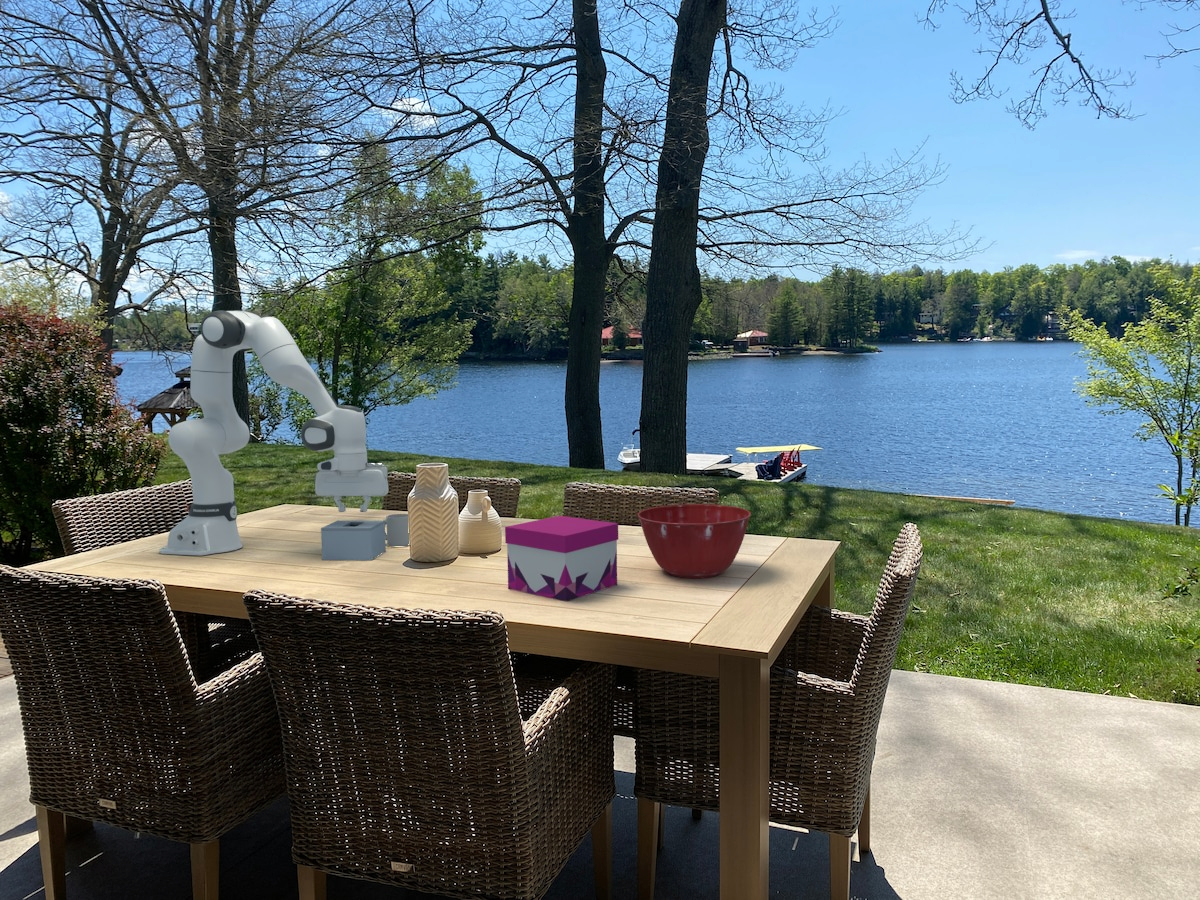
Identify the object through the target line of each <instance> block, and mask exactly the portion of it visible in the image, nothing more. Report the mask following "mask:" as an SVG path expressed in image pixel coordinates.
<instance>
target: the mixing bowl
mask: <svg viewBox="0 0 1200 900" xmlns="http://www.w3.org/2000/svg"><path fill="white" fill-rule="evenodd" d="M751 514H752V513H751V512H750V511H749V510H748V509H745V508H741V507H739V506H731V505H725V504H705V503H702V504H701V503H700V504H698V503H696V504H695V503H694V504H688V503H687V504H672V505H662V506H656V507H650V508H646V509H644V510H643V509H642V510H641V511H639V512H638V513H637V517H638V518H639V521H640V526H641V528H642V533H643V535H644V539H645V542H646V544H647V546H648V548H649V550H650V553H651V554H652V556H653V559H654V560H655V563H656V564H657V565H658V566H659V567H660V568H661V569H662V570H664V571H665V572H667V573H668V574H669V575H671V576H674V577H678V578H683V579H706V578H713V577H716V576H719V575H721V574H722V573H723V572H724V571H726V570H728V568H729V567H731V565H732V564H733V562H734V560H735V559H736V558H737V555H738V553H739V550H740V549H741V545H742V544H743V541H744V538H745V536H746V531H747V527H748V524H749V519H750V518H751V516H752V515H751Z"/></svg>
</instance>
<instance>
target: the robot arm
mask: <svg viewBox="0 0 1200 900" xmlns="http://www.w3.org/2000/svg"><path fill="white" fill-rule="evenodd" d="M193 343H194V344H193V348H192V352H191V357H190V359H191V360H190V361H191V362H190V385H189V386H190V391H189V393H190V394H189V395H190V397H191V398H192V400H193V401H194V402H195V403H197V404H198V405H199V406H200V408H201V411H202V413H203V418H193V419H192V418H191V419H188V420H184V421H182V422H178V423H175V424H174V425H172V427H171V428H170V430H169V433H168V435H167V436H168V438H167V440H168V446H169V448H170V449H171V450H172V452H173V453H174V454H176V455H177V456H178V457H179V458H180V459H181V460H182V461H183V462H184V464H185V466H186V468H187V470H188V472H189V475H190V479H191V488H192V489H191V490H192V499H193V501H192V503H191V504H189V505H188V506H185V507H184V508H185V509H184V511H185V512H186V511H188V514H187V516H186V517H185V518H183V519H182V520H181V521H179V523H177V525H175V526H174V527H173V528H171V530H169V532H168V537H167V545H166V546H163V547H161V548H159V554H162V555H178V556H181V555H183V556H184V555H185V556H201V557H202V556H206V555H211V554H212V555H213V554H220V553H227V552H233V551H236V550H239V549H241V548H243V542H242V540H241V537H240V534H239V530H238V524H237V517H238V514H237V513H238V512H237V511H238V509H237V501H236V500H235V487H234V476H233V474H232V473H231V471H229V470H228V469H226V468H225V467H224V466H223V464H222V462H221V459H220V456H219V455H226V454H231V453H235V452H238V451H239V450H241V449H243V448H245V447H246V446H247V445H248V443H249V441H250V436H251V435H250V429H249V427H248V424H247V423H246V422H245V421H244V420H243V419H242V418H241V417H240V416H239V414H238V412H237V409H236V407H235V402H234V397H233V396H234V395H233V359H234V356H235V354H236V353H237V352H239V351H240V352H241V353H242V352H245V353H246V352H248V351H253V352H254V353H255V355H256V357H257V358H258V360H259V363H260V364H261V366H262V368H263V370H264V371H265V373H266V374H267V376H269V378H270V379H271V380H272V381H273V382H274V383H276V384H279V385H281V386H283V387H287V388H290V389H291V390H295V391H297V392H298V393H300V394H301V395H302V396H304V397H305V398H306V399H307V400H308V402H309V403H310V405H311V407H312V408H313V410H314V411H315V413H316V414H317V416H315V417H313V418H310V419H308V420H306V421H305V422H303V425H302V427H301V428H300V440H301V441H302V444H303V446H305V447H306V449H308V450H310V451H313V452H325V451H333V455H334V456H333V457H330V458H328V459H326V460H324V461H321V462H318V463H317V470H318V472H317V473H316V475H315V483H314V484H315V485H314V490H315V491H314V492H315V494H316V495H317V496H318V497H333V500H334V502H335V504H336V506H337V508H338V512H339V513H345V512H346V510H347V509H346V508H347V506H346V504H343V503H342V501H341V499H343V498H342V497H363V498H362V499H363V501H364V502H363V504H362V505H360V506H359V512H360V513H367V511H368V505H369V503H370V501H371V499H372V498H371V497H384V496H386V495H387V494H388V493H389V482H388V473H389V472H388V471H389V470H388V466H386V465H385V464H383V463H382V462H377V463H375V462H368V451H367V446H366V440H367V425H366V419H365V414H364V412H363V410H362V409H361V408H360V407H358V406H354V405H346V404H339V405H338V403H337V402H336V400H335V398H334V397H333V395H332V394H331V393H330V391H329V390H328V387H326V385H325V383H324V382H323V380H322V379H321V378H320V376H319V375H318V374H317V373H316V371H315V370H314V369H313V367H311V365H310V364H309V362H308V361H307V360H306V358H305V356H304V355H303V353H302V352H301V350H300V348H299V346H298V344H297V343H296V341H295V340H294V337H293V336H292V335H291V333H290V332H289V330H288V329H287V327H286V326H285V325H284V324H283V323H282V321H281V320H280V319H279V318H277V317H275V316H274V317H273V316H263V315H261V314H259V313H256V312H250V311H245V310H221V309H220V310H215V311H211V312H209V313H207V314H206V315H205V316H203V319H201V323H200V334H199V335H197V337H196V338H195V340H194V342H193Z"/></svg>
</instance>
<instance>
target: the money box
mask: <svg viewBox="0 0 1200 900" xmlns="http://www.w3.org/2000/svg"><path fill="white" fill-rule="evenodd" d="M385 532H386V525H385V521H383V520H336V521H334V522H331V523H329V524H327V525H325V526H323V527H321V528H320V536H321V537H320V538H321V557H322V558H321V559H322V561H373V560H375V559H376V558H378V557H379V556H381V555H382V554H384V553H385V552H386V551H387V550H386V549H387V548H386V547H387V546H386V544H387V543H386V542H387V541H386V540H385ZM384 551H385V552H384ZM383 552H384V553H383ZM381 553H382V554H381ZM380 554H381V555H380ZM378 555H379V556H378ZM377 556H378V557H377ZM375 557H376V558H375ZM374 558H375V559H374Z"/></svg>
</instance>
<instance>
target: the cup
mask: <svg viewBox="0 0 1200 900" xmlns="http://www.w3.org/2000/svg"><path fill="white" fill-rule="evenodd" d="M408 514H409V513H394V514H388V515H386V518H384V519H382V521H385V526H386V531H385V541H386V542H387V543H386V544H387V546H388V545H389V546H406V547H409V546H408V544H409V533H408ZM389 546H388V547H389Z"/></svg>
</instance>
